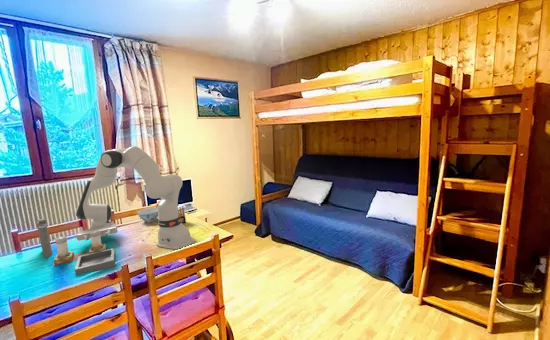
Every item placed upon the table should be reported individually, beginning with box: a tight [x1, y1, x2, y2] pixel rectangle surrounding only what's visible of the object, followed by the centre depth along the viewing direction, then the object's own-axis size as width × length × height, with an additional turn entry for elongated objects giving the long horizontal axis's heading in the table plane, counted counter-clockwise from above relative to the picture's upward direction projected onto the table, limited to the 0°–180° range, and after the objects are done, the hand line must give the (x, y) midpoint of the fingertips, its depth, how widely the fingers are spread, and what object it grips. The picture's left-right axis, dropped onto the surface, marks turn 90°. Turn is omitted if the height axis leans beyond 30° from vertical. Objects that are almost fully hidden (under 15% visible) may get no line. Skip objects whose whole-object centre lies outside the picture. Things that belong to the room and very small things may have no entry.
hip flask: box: [36, 218, 53, 258], centre depth 157 cm, size 16×4×20 cm, turn 44°
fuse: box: [55, 236, 70, 258], centre depth 146 cm, size 5×5×12 cm
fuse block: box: [51, 243, 109, 267], centre depth 151 cm, size 24×10×4 cm, turn 119°
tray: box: [74, 248, 116, 275], centre depth 142 cm, size 16×16×4 cm
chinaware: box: [137, 207, 159, 223], centre depth 204 cm, size 15×15×8 cm
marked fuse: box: [90, 230, 103, 251], centre depth 153 cm, size 5×5×12 cm
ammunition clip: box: [178, 206, 187, 224], centre depth 194 cm, size 11×2×12 cm, turn 122°
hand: (96, 236), depth 158 cm, fingers open, 8 cm apart
